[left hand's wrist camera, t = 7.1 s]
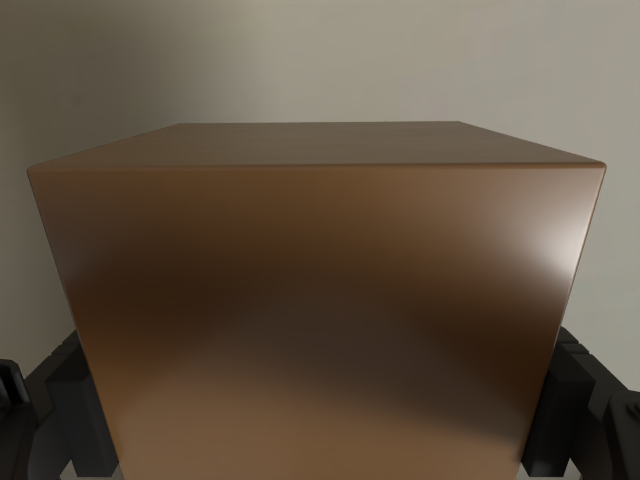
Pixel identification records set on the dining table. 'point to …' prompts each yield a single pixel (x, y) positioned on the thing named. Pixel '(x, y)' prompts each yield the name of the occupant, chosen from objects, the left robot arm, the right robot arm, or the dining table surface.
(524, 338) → the thick board
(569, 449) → the left robot arm
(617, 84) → the dining table surface
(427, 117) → the dining table surface
